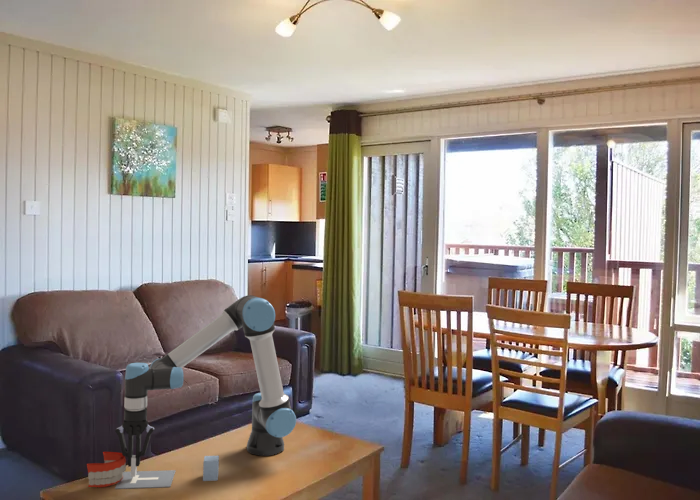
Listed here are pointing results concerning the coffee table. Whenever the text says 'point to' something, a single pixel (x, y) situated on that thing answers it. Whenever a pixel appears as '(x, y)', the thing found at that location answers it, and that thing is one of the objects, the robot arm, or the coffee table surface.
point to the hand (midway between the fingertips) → (133, 475)
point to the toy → (107, 470)
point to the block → (210, 468)
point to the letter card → (146, 479)
